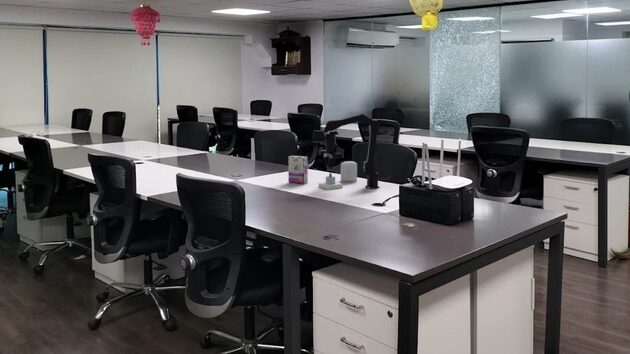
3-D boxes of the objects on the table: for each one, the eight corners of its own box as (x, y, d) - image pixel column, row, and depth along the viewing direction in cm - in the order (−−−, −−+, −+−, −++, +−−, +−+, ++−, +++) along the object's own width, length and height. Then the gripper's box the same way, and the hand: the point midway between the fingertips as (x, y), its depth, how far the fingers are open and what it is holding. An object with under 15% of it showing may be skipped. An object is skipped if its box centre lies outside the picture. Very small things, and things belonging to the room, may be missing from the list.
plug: (335, 187, 343) (335, 173, 342) (329, 187, 341) (329, 174, 340) (331, 186, 347) (331, 172, 345) (325, 186, 345) (325, 173, 343)
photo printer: (356, 180, 367) (356, 160, 365) (357, 181, 363) (357, 161, 361) (339, 180, 366) (340, 161, 363) (341, 181, 361) (341, 162, 359)
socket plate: (342, 187, 342) (342, 182, 342) (327, 189, 337) (328, 184, 337) (332, 185, 351) (332, 180, 350) (318, 186, 346) (318, 181, 345)
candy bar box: (308, 183, 357) (308, 156, 354) (304, 184, 353) (304, 157, 350) (292, 181, 362) (292, 155, 359) (288, 182, 358) (287, 156, 355)
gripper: (351, 143, 336) (351, 169, 339) (333, 139, 351) (333, 165, 354) (335, 144, 330) (335, 171, 333) (317, 141, 345) (317, 167, 348)
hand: (330, 168), depth 342 cm, fingers closed
